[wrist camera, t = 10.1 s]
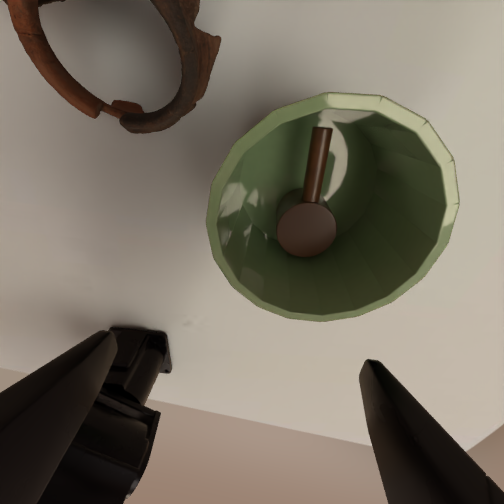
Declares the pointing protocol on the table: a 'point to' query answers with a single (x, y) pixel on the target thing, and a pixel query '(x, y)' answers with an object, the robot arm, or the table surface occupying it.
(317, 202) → the scoop
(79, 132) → the table surface
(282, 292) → the green round container
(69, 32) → the table surface
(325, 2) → the table surface
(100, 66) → the table surface
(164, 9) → the gnarled wooden root
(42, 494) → the robot arm
